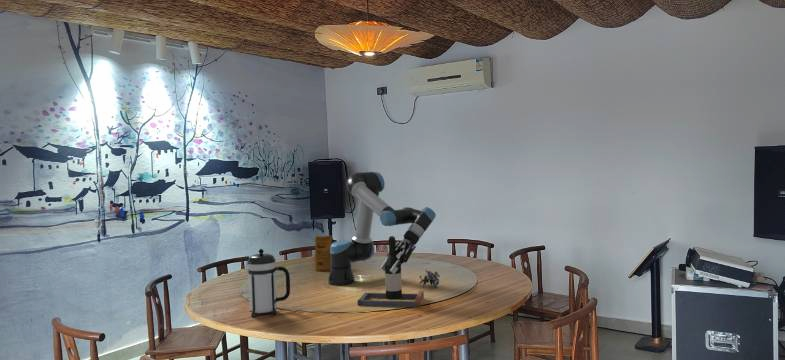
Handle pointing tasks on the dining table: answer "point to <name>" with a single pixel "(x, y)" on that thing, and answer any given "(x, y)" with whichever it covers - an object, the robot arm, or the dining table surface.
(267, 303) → the coffee press
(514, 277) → the dining table surface
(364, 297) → the frame
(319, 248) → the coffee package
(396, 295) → the wine bottle
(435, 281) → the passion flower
